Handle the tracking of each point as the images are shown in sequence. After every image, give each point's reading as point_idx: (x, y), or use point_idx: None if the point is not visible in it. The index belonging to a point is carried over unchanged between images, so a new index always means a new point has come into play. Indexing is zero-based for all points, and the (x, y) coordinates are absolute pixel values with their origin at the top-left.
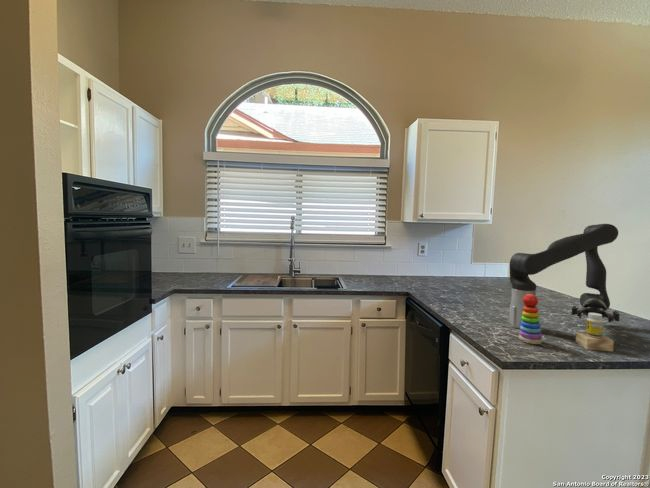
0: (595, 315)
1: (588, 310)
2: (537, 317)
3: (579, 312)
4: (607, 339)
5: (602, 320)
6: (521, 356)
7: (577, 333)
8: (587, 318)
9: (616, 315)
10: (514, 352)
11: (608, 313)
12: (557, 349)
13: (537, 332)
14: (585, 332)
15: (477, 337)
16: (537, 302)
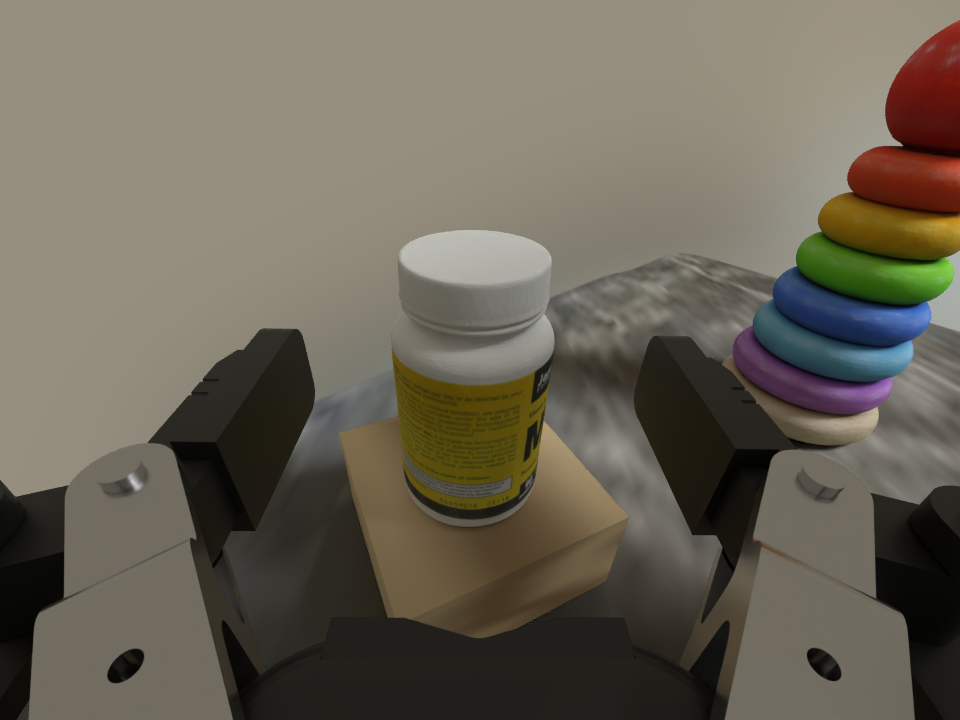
0: (472, 233)
1: (672, 664)
2: (835, 245)
3: (684, 338)
4: (378, 435)
5: (400, 313)
6: (670, 277)
7: (607, 502)
8: (547, 319)
9: (14, 497)
10: (707, 288)
11: (167, 496)
12: (624, 370)
13: (754, 316)
14: (551, 544)
15: (933, 334)
16: (894, 91)
